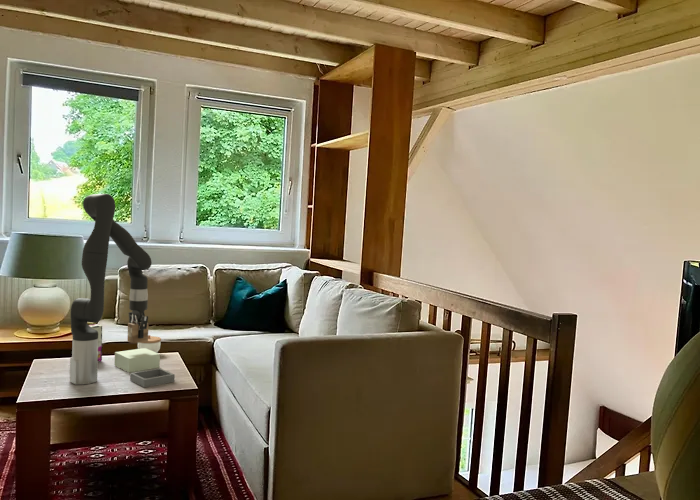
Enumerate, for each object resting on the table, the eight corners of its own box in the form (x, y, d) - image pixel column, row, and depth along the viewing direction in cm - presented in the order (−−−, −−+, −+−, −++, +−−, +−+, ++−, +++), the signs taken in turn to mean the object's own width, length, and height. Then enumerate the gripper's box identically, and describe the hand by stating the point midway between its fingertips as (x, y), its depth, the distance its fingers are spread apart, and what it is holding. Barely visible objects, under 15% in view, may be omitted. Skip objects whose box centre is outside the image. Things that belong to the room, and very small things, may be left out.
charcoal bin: (143, 387, 222) (144, 379, 221) (130, 380, 230) (130, 373, 230) (174, 381, 231) (174, 374, 231) (160, 375, 239) (160, 368, 239)
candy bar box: (96, 359, 260) (97, 323, 259) (102, 361, 257) (103, 325, 256) (72, 363, 251) (72, 326, 250) (77, 365, 248) (78, 328, 247)
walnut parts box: (147, 341, 251) (148, 323, 250) (132, 343, 246) (132, 325, 245) (142, 339, 254) (143, 321, 254) (127, 341, 249) (127, 323, 249)
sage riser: (128, 372, 241) (129, 358, 240) (114, 365, 250) (114, 352, 250) (159, 367, 251) (159, 354, 250) (144, 360, 260) (145, 348, 260)
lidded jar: (138, 357, 265) (138, 338, 265) (135, 352, 275) (136, 333, 274) (161, 356, 270) (162, 337, 269) (159, 351, 280) (159, 332, 279)
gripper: (154, 300, 247) (153, 339, 248) (139, 296, 257) (138, 333, 258) (138, 301, 241) (137, 341, 242) (123, 297, 251) (122, 335, 252)
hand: (137, 336), depth 250 cm, fingers closed on walnut parts box, 5 cm apart
